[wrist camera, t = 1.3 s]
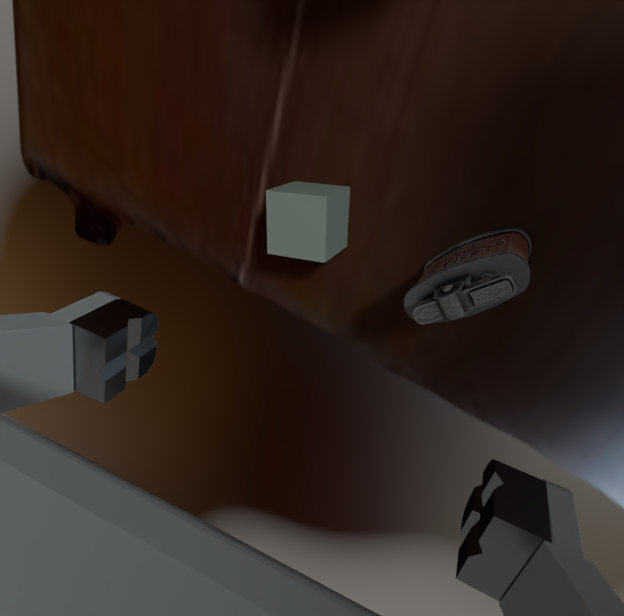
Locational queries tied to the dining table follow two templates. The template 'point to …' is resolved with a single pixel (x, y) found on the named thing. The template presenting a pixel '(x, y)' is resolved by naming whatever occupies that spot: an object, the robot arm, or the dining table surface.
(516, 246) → the lighter
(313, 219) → the sage block
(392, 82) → the dining table surface
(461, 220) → the dining table surface
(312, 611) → the robot arm
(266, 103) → the dining table surface
